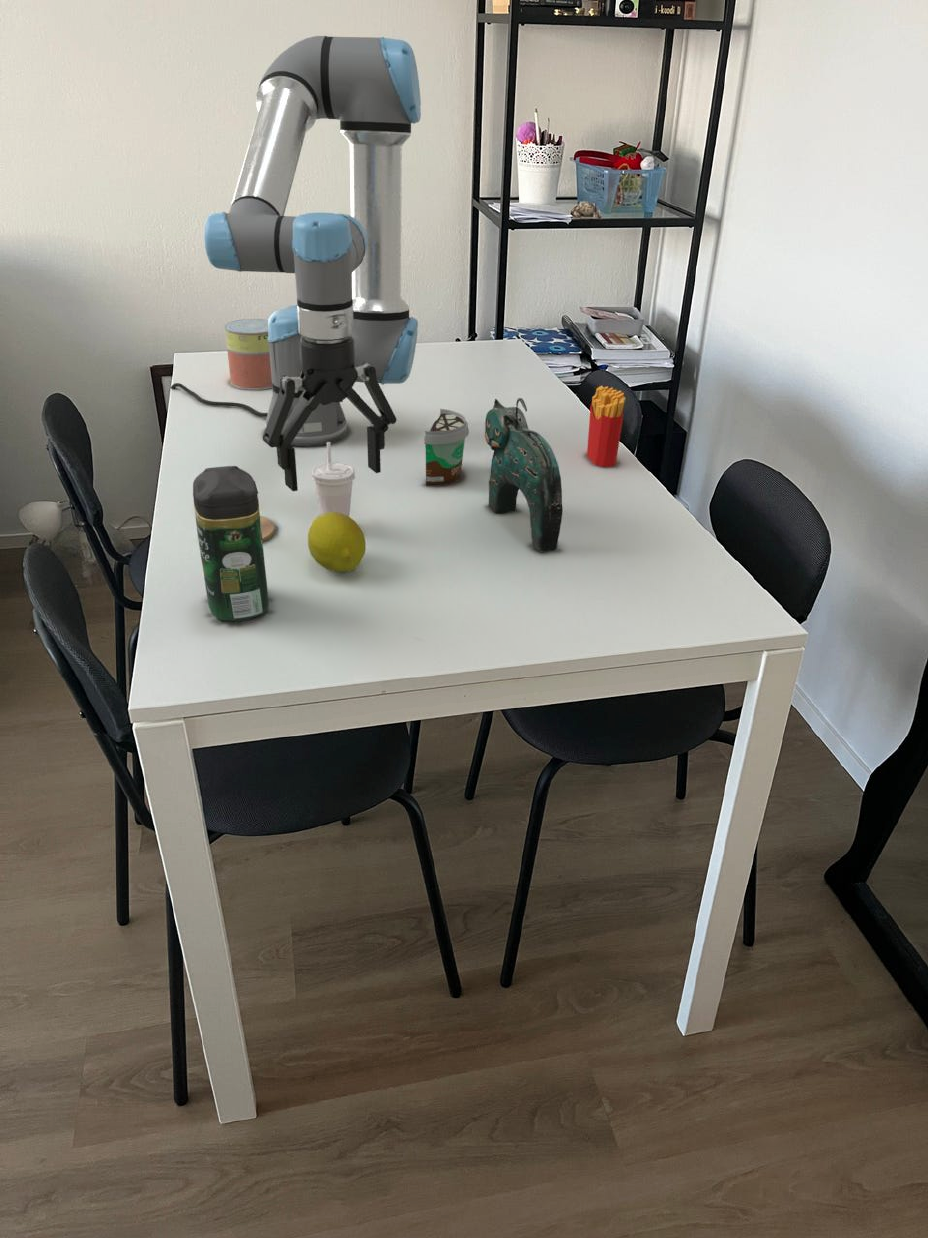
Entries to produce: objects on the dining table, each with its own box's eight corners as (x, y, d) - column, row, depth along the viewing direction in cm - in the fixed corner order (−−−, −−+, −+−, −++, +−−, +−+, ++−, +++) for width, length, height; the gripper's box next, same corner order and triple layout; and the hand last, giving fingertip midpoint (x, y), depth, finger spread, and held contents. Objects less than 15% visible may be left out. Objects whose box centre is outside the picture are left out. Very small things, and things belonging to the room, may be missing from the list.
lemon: (373, 580, 132) (372, 528, 128) (318, 588, 130) (315, 536, 126) (355, 546, 141) (353, 496, 137) (303, 552, 139) (299, 502, 134)
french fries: (581, 451, 176) (588, 383, 169) (603, 450, 177) (611, 381, 170) (600, 470, 168) (608, 399, 161) (622, 469, 169) (631, 398, 162)
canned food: (278, 390, 200) (273, 333, 194) (224, 388, 200) (218, 331, 194) (287, 374, 210) (283, 319, 203) (236, 372, 210) (231, 317, 203)
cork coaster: (198, 525, 145) (197, 522, 145) (259, 512, 150) (259, 509, 149) (221, 552, 138) (220, 548, 138) (285, 537, 142) (284, 534, 142)
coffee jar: (204, 591, 128) (187, 463, 118) (263, 584, 130) (251, 457, 121) (210, 628, 120) (192, 494, 111) (273, 620, 123) (261, 487, 113)
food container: (459, 492, 158) (461, 435, 153) (424, 488, 159) (424, 432, 154) (473, 465, 169) (475, 411, 163) (440, 461, 170) (441, 407, 164)
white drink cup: (326, 517, 149) (322, 432, 141) (363, 524, 147) (361, 439, 140) (307, 534, 144) (302, 447, 136) (345, 541, 142) (342, 454, 135)
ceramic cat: (477, 503, 155) (482, 383, 144) (513, 497, 157) (520, 379, 147) (532, 557, 140) (542, 427, 129) (571, 550, 142) (583, 422, 131)
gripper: (250, 356, 121) (264, 505, 133) (419, 331, 133) (418, 471, 144) (229, 340, 127) (245, 485, 138) (393, 318, 138) (395, 454, 150)
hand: (333, 478), depth 141 cm, fingers open, 13 cm apart
